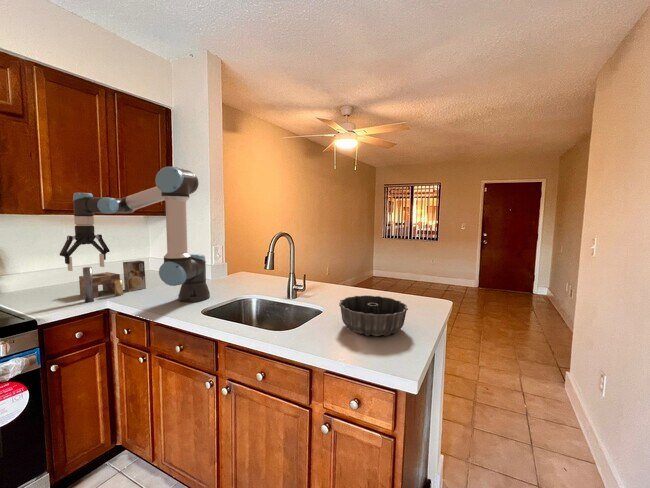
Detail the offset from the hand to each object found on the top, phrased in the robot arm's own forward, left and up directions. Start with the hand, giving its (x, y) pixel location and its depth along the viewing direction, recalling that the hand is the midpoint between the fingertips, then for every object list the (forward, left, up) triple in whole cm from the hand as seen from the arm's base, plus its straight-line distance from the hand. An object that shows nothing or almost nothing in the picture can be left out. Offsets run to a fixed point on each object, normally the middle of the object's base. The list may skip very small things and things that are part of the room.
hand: (86, 268), depth 152 cm
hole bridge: (+12, -11, -17) cm, 23 cm away
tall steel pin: (0, 0, -17) cm, 17 cm away
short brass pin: (0, -14, -17) cm, 22 cm away
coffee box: (+6, -26, -17) cm, 31 cm away
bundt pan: (-134, -36, -17) cm, 140 cm away
